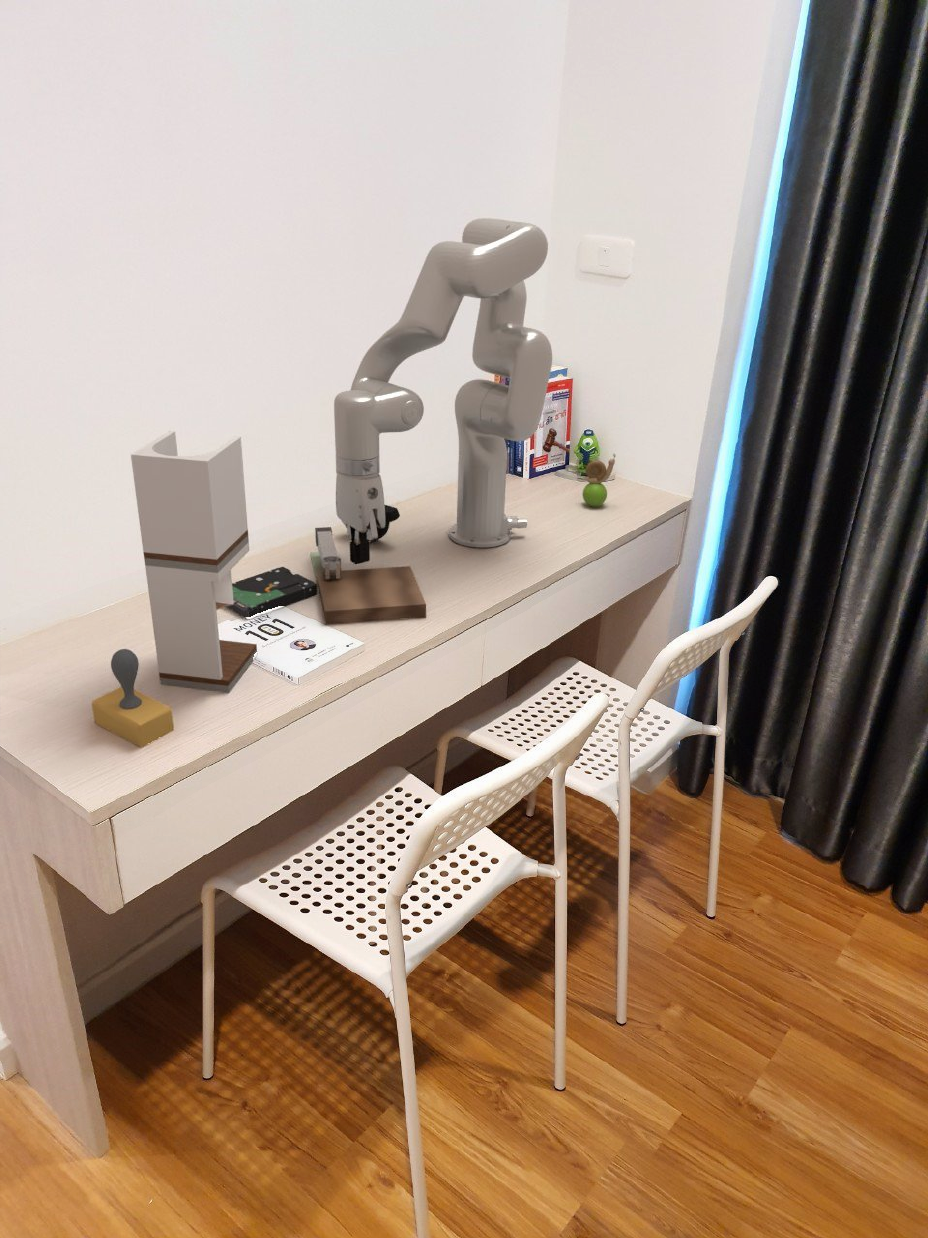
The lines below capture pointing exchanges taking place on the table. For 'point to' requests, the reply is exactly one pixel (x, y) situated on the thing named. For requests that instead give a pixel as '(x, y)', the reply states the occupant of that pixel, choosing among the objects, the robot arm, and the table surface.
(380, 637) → the table surface
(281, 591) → the disk drive
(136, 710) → the rubber stamp
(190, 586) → the gray dispenser tower
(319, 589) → the brown flat wooden board
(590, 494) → the snail figurine
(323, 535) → the folding leg
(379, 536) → the controller
